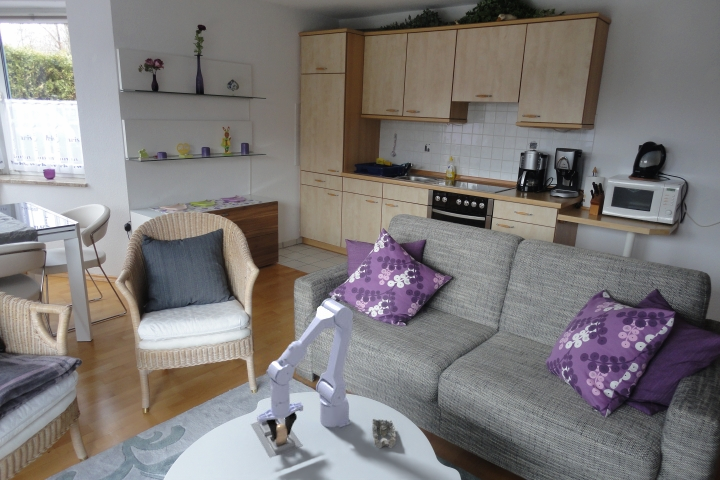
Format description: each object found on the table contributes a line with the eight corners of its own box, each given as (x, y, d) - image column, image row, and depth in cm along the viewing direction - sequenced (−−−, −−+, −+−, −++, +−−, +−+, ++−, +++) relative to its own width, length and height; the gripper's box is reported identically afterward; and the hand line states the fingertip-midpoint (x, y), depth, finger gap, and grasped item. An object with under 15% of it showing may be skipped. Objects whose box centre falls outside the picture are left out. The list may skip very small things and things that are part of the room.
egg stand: (281, 416, 165) (281, 411, 165) (302, 448, 151) (302, 442, 150) (250, 426, 160) (250, 421, 159) (269, 460, 145) (269, 454, 145)
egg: (284, 434, 154) (284, 419, 152) (289, 441, 150) (289, 426, 149) (272, 438, 152) (272, 423, 150) (277, 446, 148) (277, 431, 147)
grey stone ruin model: (395, 449, 152) (396, 438, 151) (372, 448, 152) (372, 438, 151) (393, 427, 162) (394, 417, 161) (371, 426, 162) (372, 416, 161)
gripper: (296, 385, 154) (297, 421, 157) (253, 397, 147) (254, 435, 150) (305, 396, 148) (305, 433, 152) (261, 410, 141) (262, 449, 144)
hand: (280, 435), depth 151 cm, fingers closed on egg, 4 cm apart
